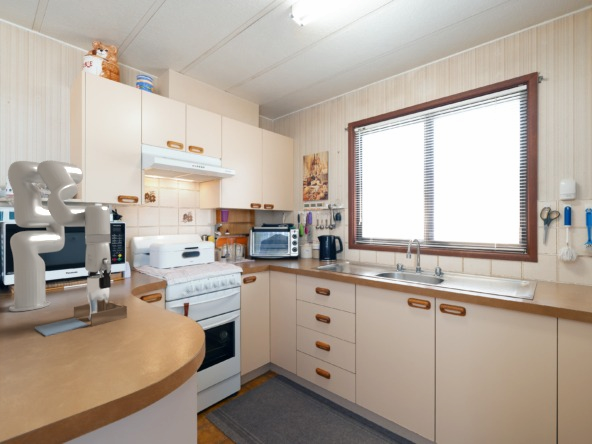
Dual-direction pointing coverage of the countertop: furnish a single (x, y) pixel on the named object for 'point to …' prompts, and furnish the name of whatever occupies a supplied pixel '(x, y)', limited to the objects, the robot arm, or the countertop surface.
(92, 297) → the beer glass
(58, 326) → the mat
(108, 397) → the countertop surface
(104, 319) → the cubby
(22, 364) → the countertop surface
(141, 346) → the countertop surface
